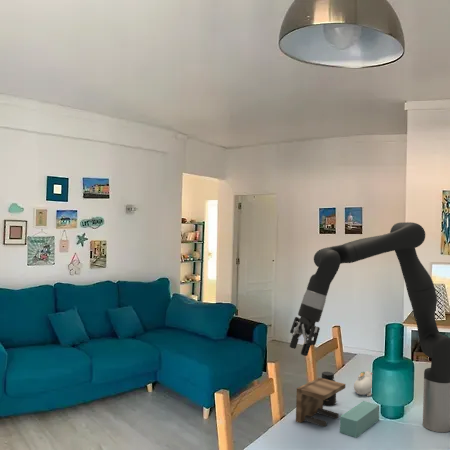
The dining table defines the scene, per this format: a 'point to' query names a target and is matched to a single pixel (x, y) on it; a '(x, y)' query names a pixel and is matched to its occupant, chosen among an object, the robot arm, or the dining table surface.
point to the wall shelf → (315, 400)
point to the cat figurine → (363, 383)
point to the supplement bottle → (332, 399)
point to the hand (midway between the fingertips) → (297, 351)
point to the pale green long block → (359, 419)
